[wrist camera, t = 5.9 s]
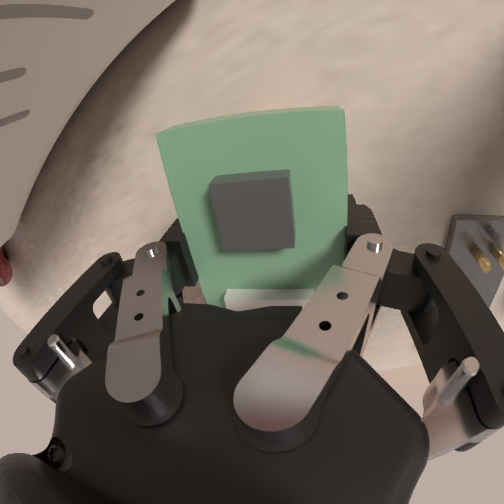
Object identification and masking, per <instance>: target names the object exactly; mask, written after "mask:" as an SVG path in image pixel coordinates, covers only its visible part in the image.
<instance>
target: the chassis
mask: <svg viewBox="0 0 504 504" xmlns="http://www.w3.org/2000/svg"><path fill="white" fill-rule="evenodd" d="M445 250H446V251H447V252H448V253H449V254H450V256H451V257H452V258H453V259H454V261H455V262H456V263H457V264H458V266H459V267H460V268H461V270H462V271H463V272H464V273H465V275H466V276H467V277H468V279H469V280H470V282H471V283H472V284H473V286H474V287H475V289H476V290H477V291H478V293H479V294H480V296H481V297H482V299H483V300H484V302H485V303H486V305H487V306H488V308H489V307H490V305H491V303H492V301H493V299H494V296H495V294H496V292H497V290H498V287H499V285H500V283H501V280H502V278H503V275H504V216H461V215H453V216H452V222H451V227H450V231H449V236H448V240H447V245H446V249H445Z"/></svg>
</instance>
